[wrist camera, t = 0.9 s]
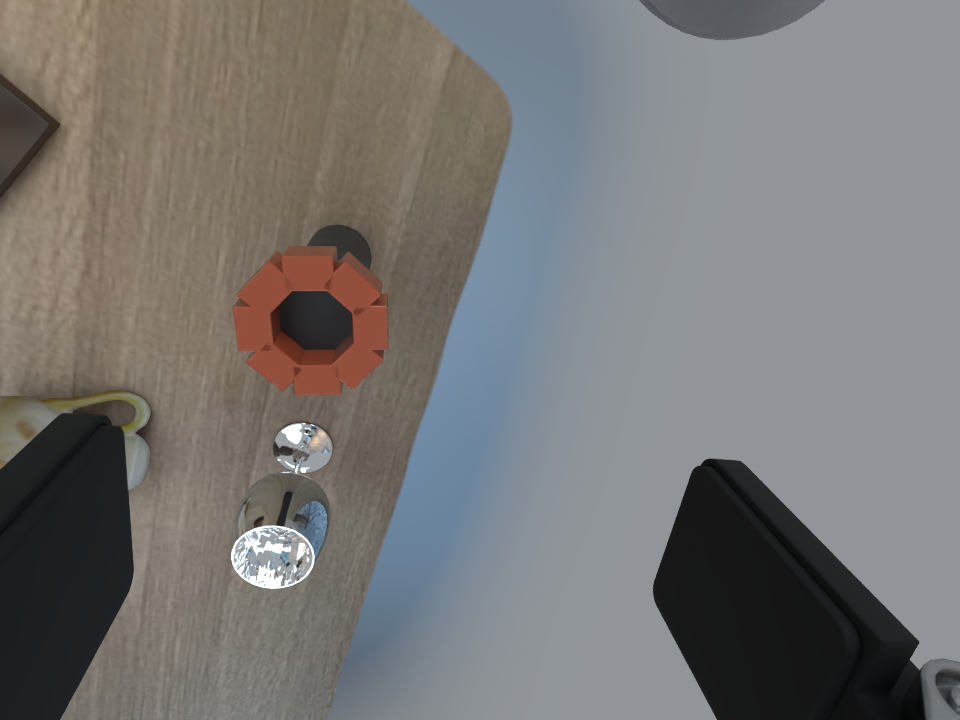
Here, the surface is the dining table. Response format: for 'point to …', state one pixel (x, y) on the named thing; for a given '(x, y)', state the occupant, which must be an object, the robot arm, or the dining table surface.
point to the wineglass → (284, 512)
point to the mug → (20, 419)
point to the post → (20, 132)
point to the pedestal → (323, 298)
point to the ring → (285, 356)
